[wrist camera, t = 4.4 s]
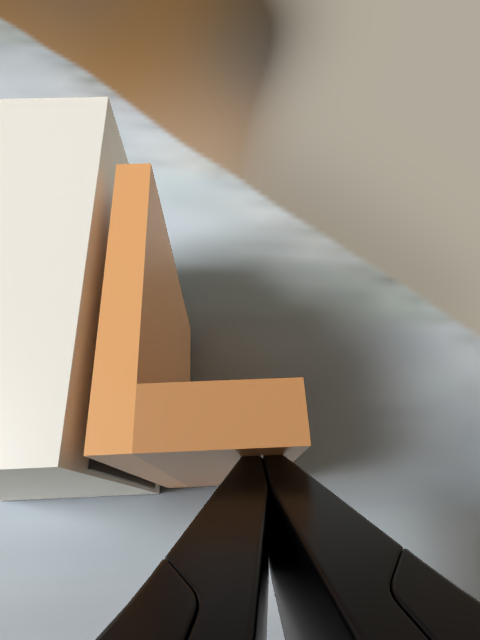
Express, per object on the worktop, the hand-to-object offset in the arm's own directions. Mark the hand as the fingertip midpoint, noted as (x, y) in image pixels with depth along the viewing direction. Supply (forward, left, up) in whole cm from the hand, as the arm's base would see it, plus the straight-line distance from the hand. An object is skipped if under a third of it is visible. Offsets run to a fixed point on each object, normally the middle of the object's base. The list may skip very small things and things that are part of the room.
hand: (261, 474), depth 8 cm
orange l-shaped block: (+4, 0, -8) cm, 9 cm away
